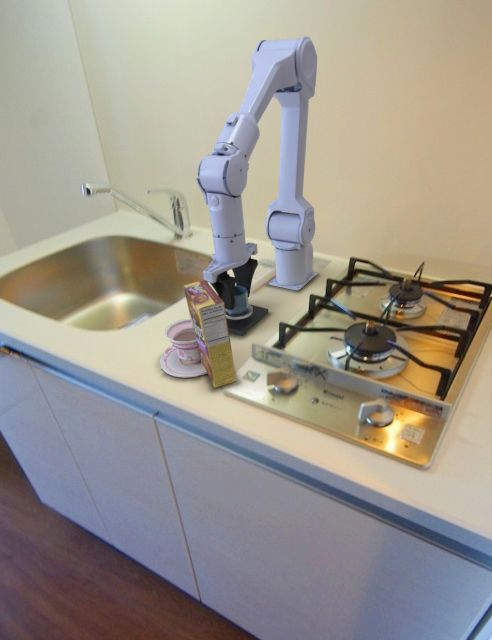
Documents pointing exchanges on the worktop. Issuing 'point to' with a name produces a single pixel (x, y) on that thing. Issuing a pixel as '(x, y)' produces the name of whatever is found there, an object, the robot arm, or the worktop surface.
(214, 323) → the candy box
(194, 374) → the teacup
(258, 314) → the scale
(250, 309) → the grey round disc
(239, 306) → the blue cup
